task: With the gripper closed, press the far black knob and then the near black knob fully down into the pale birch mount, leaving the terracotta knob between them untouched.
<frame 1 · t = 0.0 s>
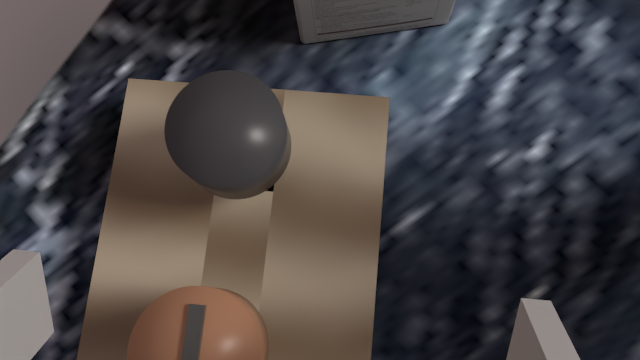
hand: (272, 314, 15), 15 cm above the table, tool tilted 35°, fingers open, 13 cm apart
mount: (240, 337, 30), on the table
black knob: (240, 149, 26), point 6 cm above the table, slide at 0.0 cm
orange knob middle: (213, 346, 24), point 6 cm above the table, slide at 0.0 cm
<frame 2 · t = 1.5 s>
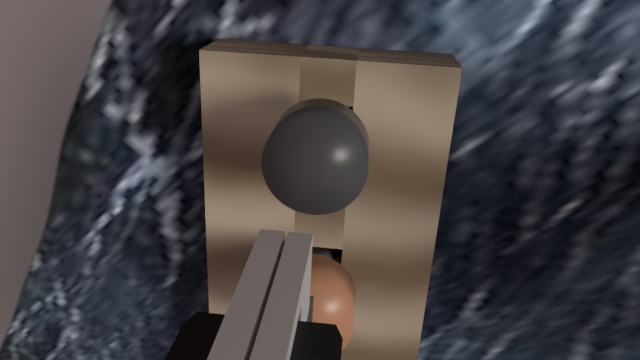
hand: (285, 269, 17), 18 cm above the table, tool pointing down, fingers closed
mount: (322, 236, 37), on the table
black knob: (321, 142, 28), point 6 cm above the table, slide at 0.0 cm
orange knob middle: (313, 287, 32), point 6 cm above the table, slide at 0.0 cm
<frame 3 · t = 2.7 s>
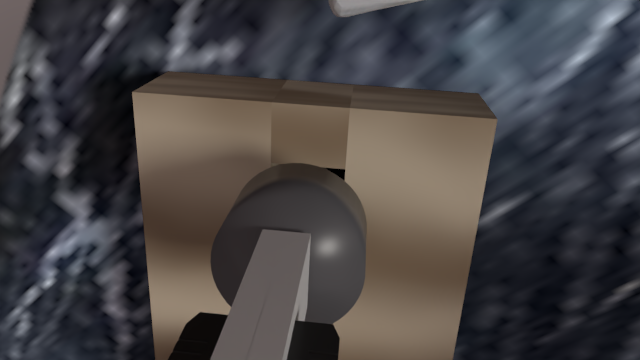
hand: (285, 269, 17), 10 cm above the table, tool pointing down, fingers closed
mount: (308, 319, 29), on the table
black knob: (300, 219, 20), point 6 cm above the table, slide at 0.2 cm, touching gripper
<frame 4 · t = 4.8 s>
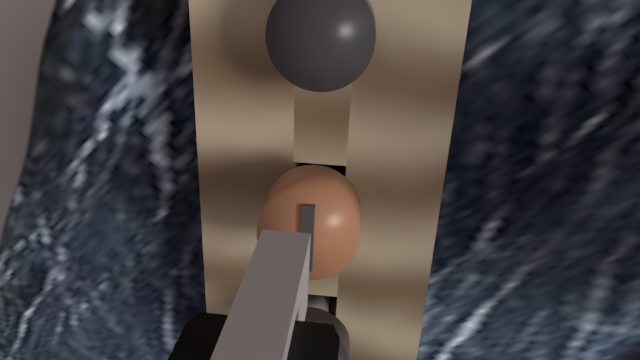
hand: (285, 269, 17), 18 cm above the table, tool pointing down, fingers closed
mount: (324, 161, 35), on the table
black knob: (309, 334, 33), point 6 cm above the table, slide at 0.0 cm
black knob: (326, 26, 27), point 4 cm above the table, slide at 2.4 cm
orange knob middle: (314, 204, 29), point 6 cm above the table, slide at 0.0 cm
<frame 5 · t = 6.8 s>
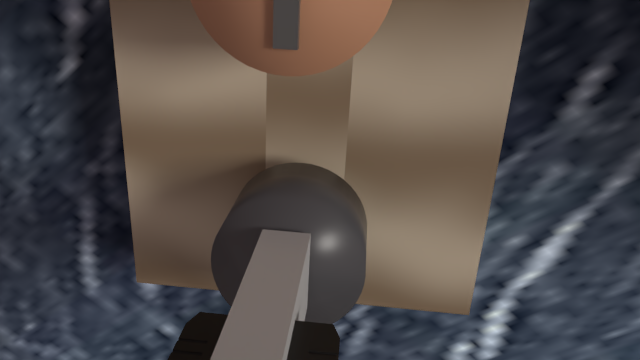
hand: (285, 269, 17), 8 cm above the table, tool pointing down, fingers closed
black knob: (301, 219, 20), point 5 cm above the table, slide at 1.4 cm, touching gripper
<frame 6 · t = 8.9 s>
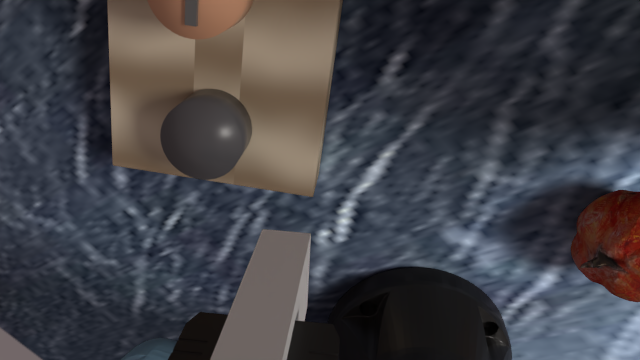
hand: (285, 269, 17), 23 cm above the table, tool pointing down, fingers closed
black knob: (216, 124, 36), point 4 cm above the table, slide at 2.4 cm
pomegranate: (612, 218, 40), on the table
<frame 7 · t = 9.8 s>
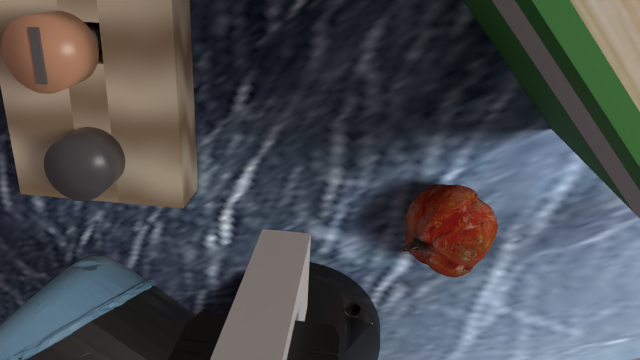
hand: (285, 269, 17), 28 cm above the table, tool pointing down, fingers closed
mount: (106, 34, 43), on the table
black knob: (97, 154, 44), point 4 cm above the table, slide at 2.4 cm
pomegranate: (446, 208, 47), on the table
hardback book: (533, 8, 40), on the table
orange knob middle: (66, 47, 38), point 6 cm above the table, slide at 0.0 cm
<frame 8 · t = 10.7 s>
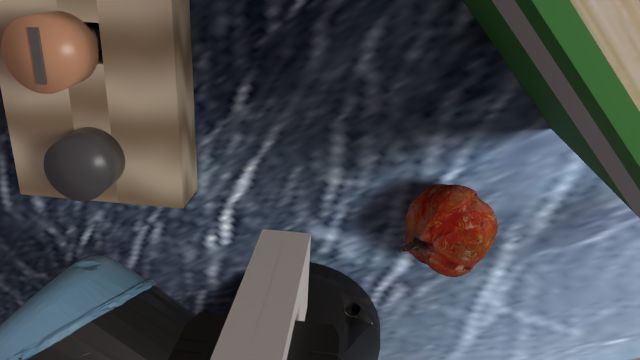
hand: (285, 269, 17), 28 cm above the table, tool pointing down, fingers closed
mount: (106, 34, 43), on the table
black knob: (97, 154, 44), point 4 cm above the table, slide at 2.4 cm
pomegranate: (446, 208, 47), on the table
hardback book: (533, 8, 40), on the table
orange knob middle: (66, 47, 38), point 6 cm above the table, slide at 0.0 cm
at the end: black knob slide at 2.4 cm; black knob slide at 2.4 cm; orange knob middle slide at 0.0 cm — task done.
